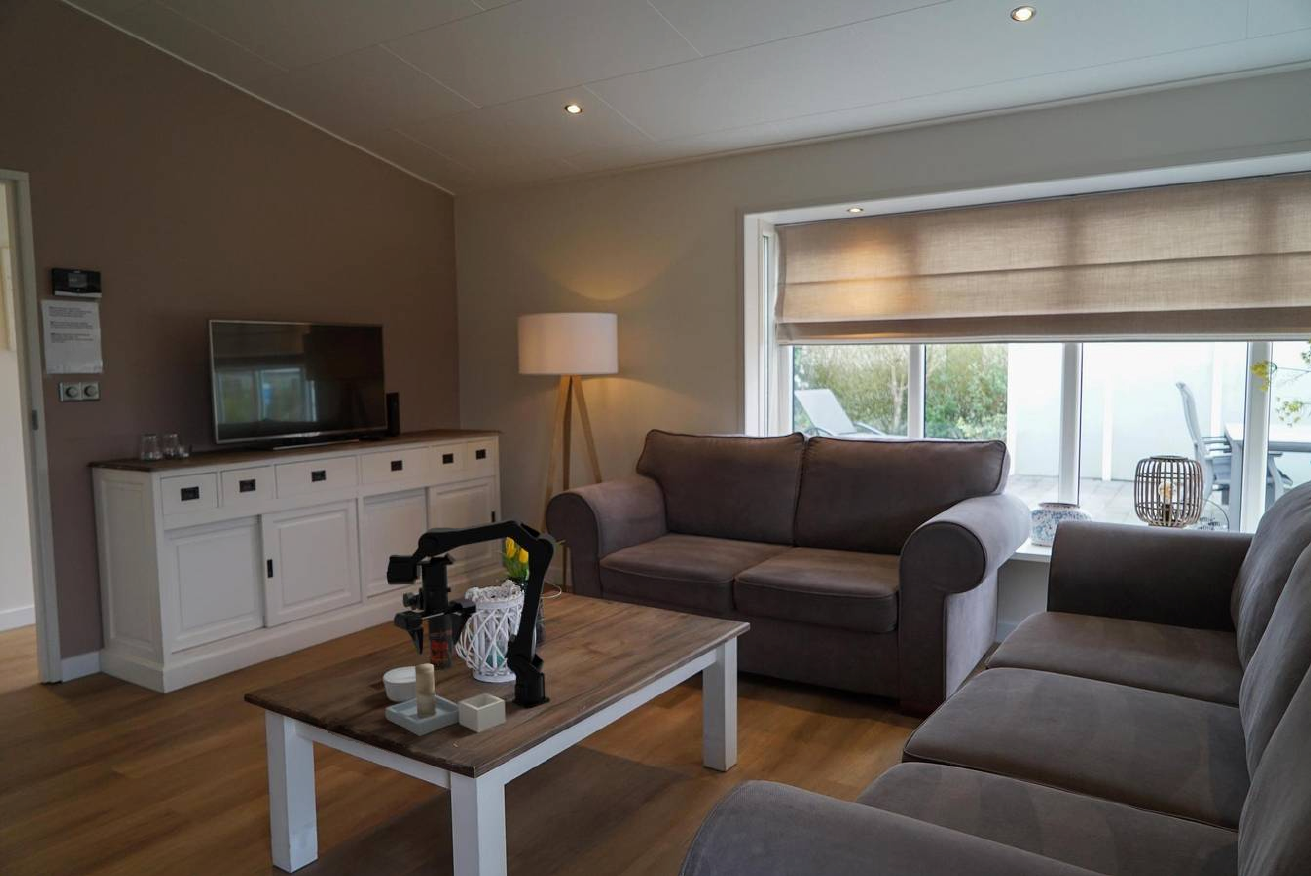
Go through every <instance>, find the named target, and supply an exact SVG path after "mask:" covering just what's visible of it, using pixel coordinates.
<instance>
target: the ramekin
mask: <svg viewBox="0 0 1311 876" xmlns="http://www.w3.org/2000/svg"><path fill="white" fill-rule="evenodd" d="M416 666H417V665H415V666H413V665H412V666H403V667H398V668H394V669H391V670H388V671H387V672H386V673H384V675H383V677H382V681H383V684H384V688H385V689H384V690H385V692H386V693H385V694H386V695H387V698H388V699H389V700H390V701H393V702H399V703H403V702H406V701H409V700H412V699H415V698H417V694H416V674H415V667H416Z"/></svg>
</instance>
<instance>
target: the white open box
mask: <svg viewBox="0 0 1311 876" xmlns="http://www.w3.org/2000/svg"><path fill="white" fill-rule="evenodd" d="M458 705H459V722H458V723H459V725H461V726H463V727H466V728H468V729H469V730H472V731H474V732H476V733H481V732H484V731H487V730H489V729H492V728H495V727H497V726H499V725H500V726H501V725H503V724H505V723H507V721H506V700H505V699H502V698H500V697H497V696H494V695H493V694H490V693H488V692H483V693H480V694H477V695H474V696H471V697H469V698H466V699H465V698H464V699H462V700H459V701H458Z"/></svg>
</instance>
